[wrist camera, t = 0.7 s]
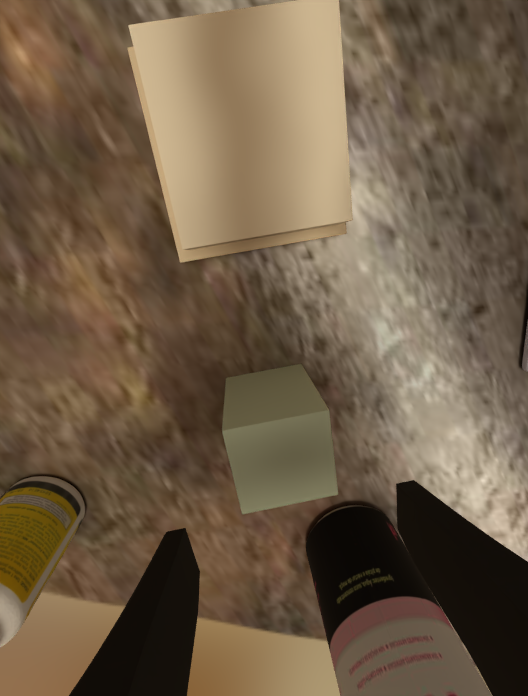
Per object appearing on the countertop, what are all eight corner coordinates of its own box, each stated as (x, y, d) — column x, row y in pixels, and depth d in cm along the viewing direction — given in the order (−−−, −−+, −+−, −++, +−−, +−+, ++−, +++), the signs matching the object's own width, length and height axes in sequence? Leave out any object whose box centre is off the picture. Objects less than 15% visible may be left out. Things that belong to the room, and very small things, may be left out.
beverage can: (396, 551, 23) (662, 1042, 9) (316, 577, 23) (449, 1106, 9) (382, 488, 21) (699, 997, 7) (294, 517, 21) (418, 1083, 7)
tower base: (317, 50, 13) (331, 17, 12) (333, 236, 16) (346, 233, 14) (143, 77, 13) (127, 47, 11) (187, 261, 16) (180, 262, 14)
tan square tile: (321, 36, 12) (338, -6, 10) (336, 224, 14) (352, 220, 12) (146, 63, 11) (128, 25, 10) (189, 249, 14) (182, 249, 12)
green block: (301, 363, 17) (329, 409, 12) (309, 428, 19) (338, 494, 14) (226, 377, 17) (221, 430, 12) (240, 441, 19) (242, 514, 13)
